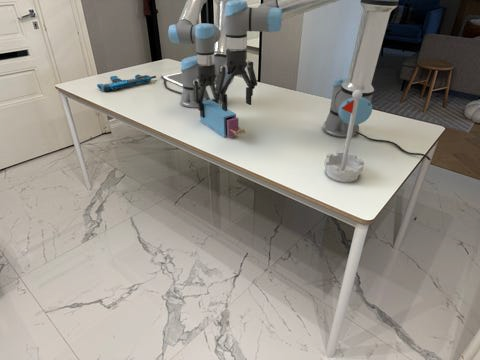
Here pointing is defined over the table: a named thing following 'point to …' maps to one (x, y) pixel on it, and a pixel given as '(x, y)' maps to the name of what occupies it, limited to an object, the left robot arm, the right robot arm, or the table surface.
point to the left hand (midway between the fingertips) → (209, 114)
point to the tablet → (175, 78)
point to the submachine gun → (124, 82)
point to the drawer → (233, 127)
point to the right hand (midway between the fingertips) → (236, 107)
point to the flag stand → (346, 151)
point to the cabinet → (216, 116)
